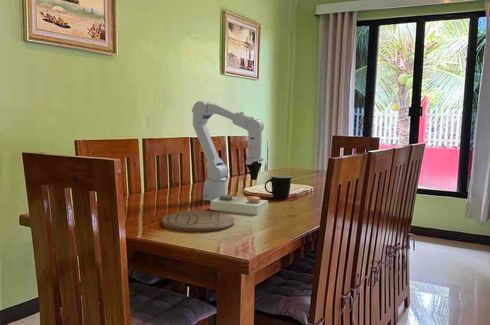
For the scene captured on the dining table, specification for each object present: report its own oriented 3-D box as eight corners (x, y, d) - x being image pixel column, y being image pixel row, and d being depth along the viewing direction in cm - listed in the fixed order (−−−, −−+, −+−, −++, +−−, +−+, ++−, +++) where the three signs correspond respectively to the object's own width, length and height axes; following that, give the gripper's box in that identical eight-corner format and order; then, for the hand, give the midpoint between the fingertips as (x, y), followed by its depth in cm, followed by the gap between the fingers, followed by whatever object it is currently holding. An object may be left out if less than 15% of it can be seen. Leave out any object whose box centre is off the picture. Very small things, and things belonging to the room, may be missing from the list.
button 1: (217, 205, 179) (217, 196, 178) (222, 203, 184) (222, 194, 183) (229, 206, 177) (229, 198, 176) (234, 204, 182) (234, 195, 181)
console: (210, 209, 176) (210, 201, 176) (223, 204, 187) (223, 196, 187) (257, 214, 169) (257, 205, 169) (267, 209, 180) (267, 200, 180)
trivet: (229, 215, 169) (229, 210, 169) (239, 232, 145) (239, 227, 144) (162, 216, 165) (162, 211, 165) (161, 234, 140) (161, 228, 140)
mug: (290, 196, 208) (290, 175, 207) (290, 200, 200) (291, 178, 198) (264, 195, 209) (265, 174, 208) (263, 199, 200) (264, 177, 199)
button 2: (244, 206, 174) (245, 198, 174) (249, 204, 179) (249, 195, 179) (257, 208, 172) (257, 199, 172) (261, 205, 177) (261, 197, 177)
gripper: (257, 149, 179) (256, 182, 180) (269, 147, 192) (268, 178, 194) (241, 148, 182) (240, 181, 183) (254, 146, 195) (253, 177, 196)
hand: (253, 179), depth 189 cm, fingers closed
